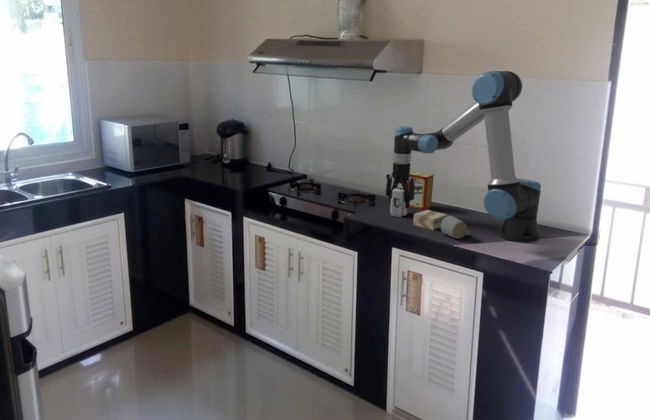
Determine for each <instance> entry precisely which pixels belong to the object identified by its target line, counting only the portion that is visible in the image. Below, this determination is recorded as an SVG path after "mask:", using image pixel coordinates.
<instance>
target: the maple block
mask: <svg viewBox="0 0 650 420" xmlns="http://www.w3.org/2000/svg"><path fill="white" fill-rule="evenodd" d="M447 216H449V215H448V214H447V213H442V212H440V211H439V212H438V211H434V210H430V209H427V210H425V211H424V210H421V211H418V212H416V213H413V219H412V220H413V221H412V225H413V226H416V227H420V228H424V229H427V230H431V231H435V230H438V229H441V223H442V221H443V219H444V218H445V217H447Z"/></svg>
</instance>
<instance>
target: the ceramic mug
mask: <svg viewBox="0 0 650 420" xmlns="http://www.w3.org/2000/svg"><path fill="white" fill-rule="evenodd" d="M440 230H441V232H442V233H443V234H445V235H447V236H449V237H451V238H453V239H457V240H458V239H459V240H460V239H462V238H464V237H465V236H466V237H467V236H469V235H470V231H468V227H467V224H466V223H465V222H464V221H462V220H461V219H459V218H457V217H456V216H453V215H448V216H447V217H445V218H444V219H443V221H442V223H441V228H440Z"/></svg>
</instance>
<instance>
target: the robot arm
mask: <svg viewBox="0 0 650 420" xmlns="http://www.w3.org/2000/svg"><path fill="white" fill-rule="evenodd" d="M522 90H523V82H522V79H521V78H520V76H519V75H518V74H516V73H515V72H513V71H507V70H503V71H499V70H498V71H497V70H491V71H485V72H482V73H480V74H479V75H478V76H477V77H476V78H475V79H474V81H473V83H472V86H471V95H472V99H473V100H474V101H475V102H474V103H473V104H471V105H470V106H468V107H467V108H466V109H465V110H464V111H462V112H461V113H460V114H458V115H456V116H455V118H453V119H452V120H451V121H449V122H447V123H446V124H445V125H444V126H443V127H442V128H439V130H437V131H436V132H430V133H429V132H428V133H416V132H414V128H413V127H412V126H409V125H408V126H406V125H403V126H402V125H401V126H397V127H396V128H395V130H394V131H395V132H394V137H393V139H394V144H393V146H394V148H393V159H392V161H393V162H392V173H388V174H386V175H385V176H386V187H385V197H388V199H389V200H388V205H389V206H390V207H389V213H390V214H391V205H392V191H393V190H394V189H395V188H397V187H399V184H401V187H403V190H404V196H405V201H404V202H403V215H402V217H403V216H406V215H407V214H408V209H409V208H410V207H409V204H410V201H411V200H414V183H415V180H416V178H412V177H410V174H411V173H410V172H411V159H412V151H413V152H417V153H421V154H422V153H423V154H433V153H434V152H435V151H437V150H447V149H448V148H450V147H452V146H453V144H454V142H456V140H458V138H461V137H462V136H463V135H464V134H467V132H469V131H470V130H471V129H472V128H474V127H476V126H477V125H478V124H480V123H481V122H483V120H484V124H485V126H484V127H485V133H486V143H487V151H488V152H487V153H488V161H489V170H490V171H489V173H490V180H489V181H488V182H487V192H486V194H485V195H484V197H483V206H484V210H485V211H486V212H487V214H489V215H490V217H491V218H494V219H496V220H502V223H501V225H500V227H499V229H498V235H499V237H501V238H503V239H506V240H508V241H512V242H519V243H532V242H533V243H535V242H537V241H539V238H540V230H539V226H538V220H537V217H538V212H539V211H538V210H539V205H540V204H539V203H540V198H541V197H540V196H541V193H542V190H541V188H542V187H541V184H540V182H539V181H535V180H531V179H525V178H518V177H516V172H515V163H514V162H515V161H514V154H513V151H514V150H513V142H512V132H511V123H510V122H511V121H510V110H511V109H512V107H513V102H515V101H516V100H517V99H518V98H519V97H520V96H521V94H522V93H521V92H522ZM408 180H409V182H410V183H409V189H408Z"/></svg>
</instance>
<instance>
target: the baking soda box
mask: <svg viewBox="0 0 650 420" xmlns="http://www.w3.org/2000/svg"><path fill="white" fill-rule="evenodd" d="M434 176H435V175H434V174H430V173H425V172H419V171H415V172H411V173H410V177H412V178H416V180H415V183H414V200H411V201H410V204H409V208H411V209H416V210H420V211H425V210H430V209H431V208H432V200H433V187H434ZM409 183H410V182H409V180H408V189H409Z"/></svg>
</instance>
